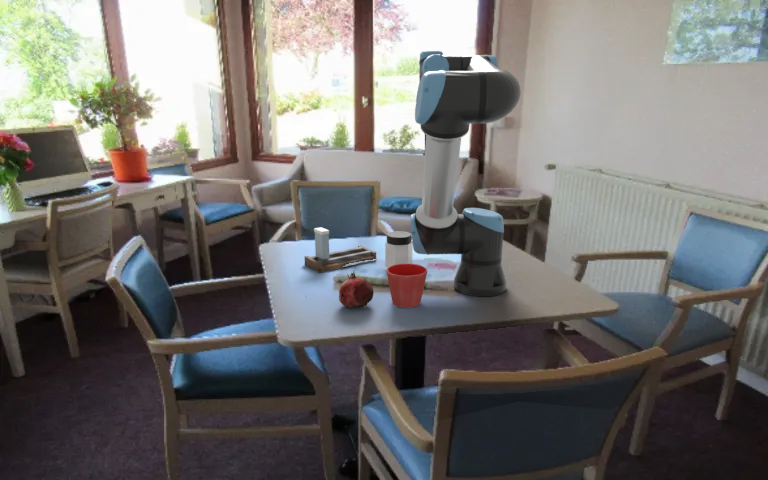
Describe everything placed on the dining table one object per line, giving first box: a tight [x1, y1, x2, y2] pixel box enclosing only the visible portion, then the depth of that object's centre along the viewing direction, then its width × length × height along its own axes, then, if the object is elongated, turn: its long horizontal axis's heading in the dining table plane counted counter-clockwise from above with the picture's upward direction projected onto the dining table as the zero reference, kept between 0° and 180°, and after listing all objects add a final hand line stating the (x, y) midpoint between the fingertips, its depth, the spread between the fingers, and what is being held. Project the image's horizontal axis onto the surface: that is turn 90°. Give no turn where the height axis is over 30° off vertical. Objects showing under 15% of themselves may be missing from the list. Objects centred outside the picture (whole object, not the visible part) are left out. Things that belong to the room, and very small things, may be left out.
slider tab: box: [313, 226, 330, 261], centre depth 164 cm, size 3×5×11 cm, turn 35°
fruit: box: [338, 270, 375, 309], centre depth 132 cm, size 9×10×10 cm
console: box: [304, 245, 377, 274], centre depth 169 cm, size 22×10×3 cm, turn 125°
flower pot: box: [385, 263, 428, 309], centre depth 135 cm, size 11×11×10 cm
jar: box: [384, 230, 413, 268], centre depth 161 cm, size 9×8×12 cm
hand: (428, 174), depth 167 cm, fingers closed
